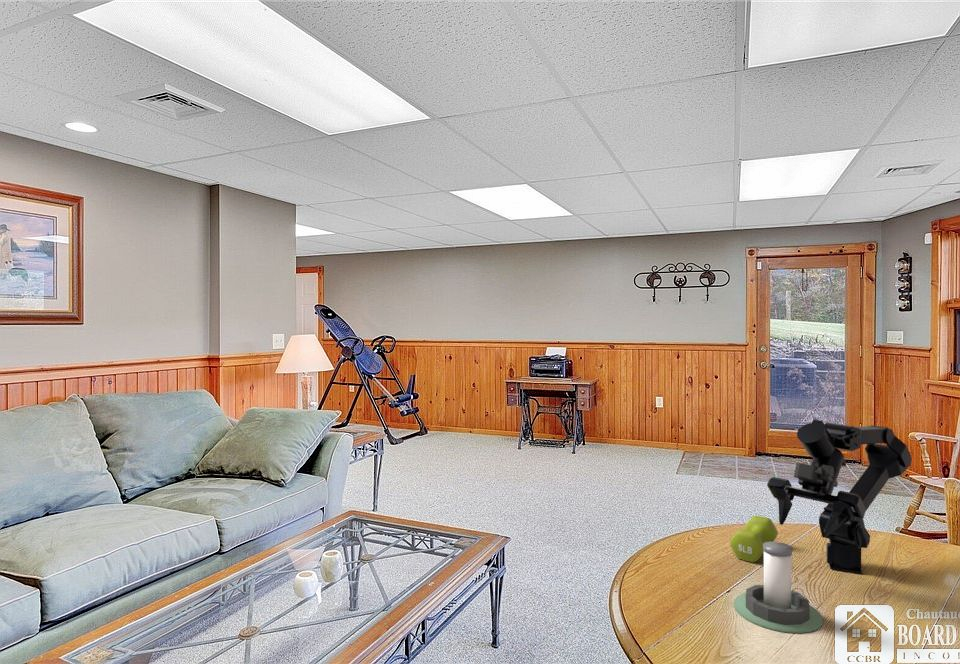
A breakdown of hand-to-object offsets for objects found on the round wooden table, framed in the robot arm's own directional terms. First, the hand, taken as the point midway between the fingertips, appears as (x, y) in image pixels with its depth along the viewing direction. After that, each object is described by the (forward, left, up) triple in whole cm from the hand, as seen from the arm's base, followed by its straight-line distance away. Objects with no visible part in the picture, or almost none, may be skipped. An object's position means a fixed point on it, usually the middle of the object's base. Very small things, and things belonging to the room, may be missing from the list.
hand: (802, 529), depth 127 cm
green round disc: (+5, +12, -14) cm, 19 cm away
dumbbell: (+10, -19, -14) cm, 26 cm away
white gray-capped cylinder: (+5, +12, -13) cm, 19 cm away
